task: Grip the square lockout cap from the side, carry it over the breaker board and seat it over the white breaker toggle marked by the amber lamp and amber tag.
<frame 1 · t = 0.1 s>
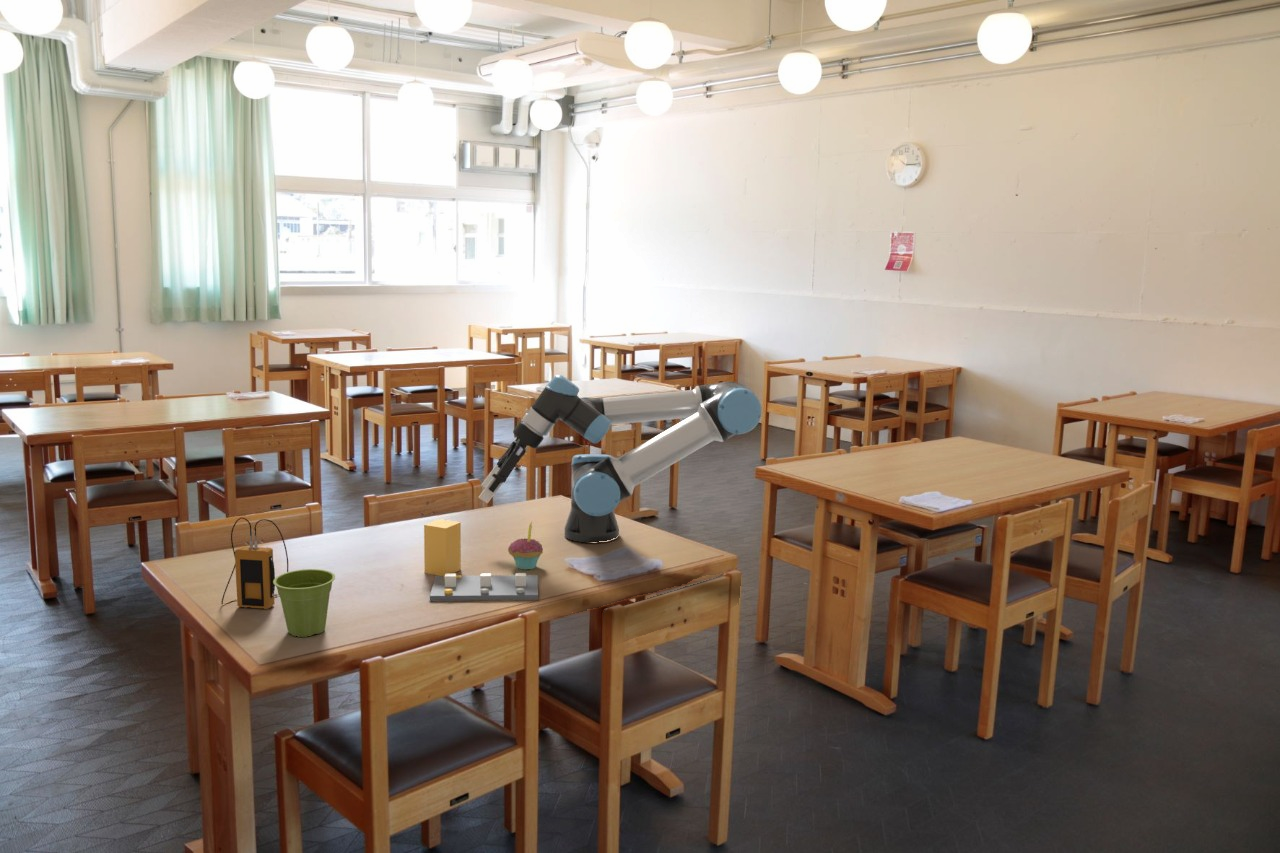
hand: (484, 494, 256), 15 cm above the table, tool tilted 35°, fingers open, 13 cm apart
breaker board: (485, 590, 229), on the table
cupcake: (525, 567, 246), on the table
lockout cap: (442, 571, 241), on the table
multimeter: (263, 602, 218), on the table
plant pot: (306, 632, 202), on the table
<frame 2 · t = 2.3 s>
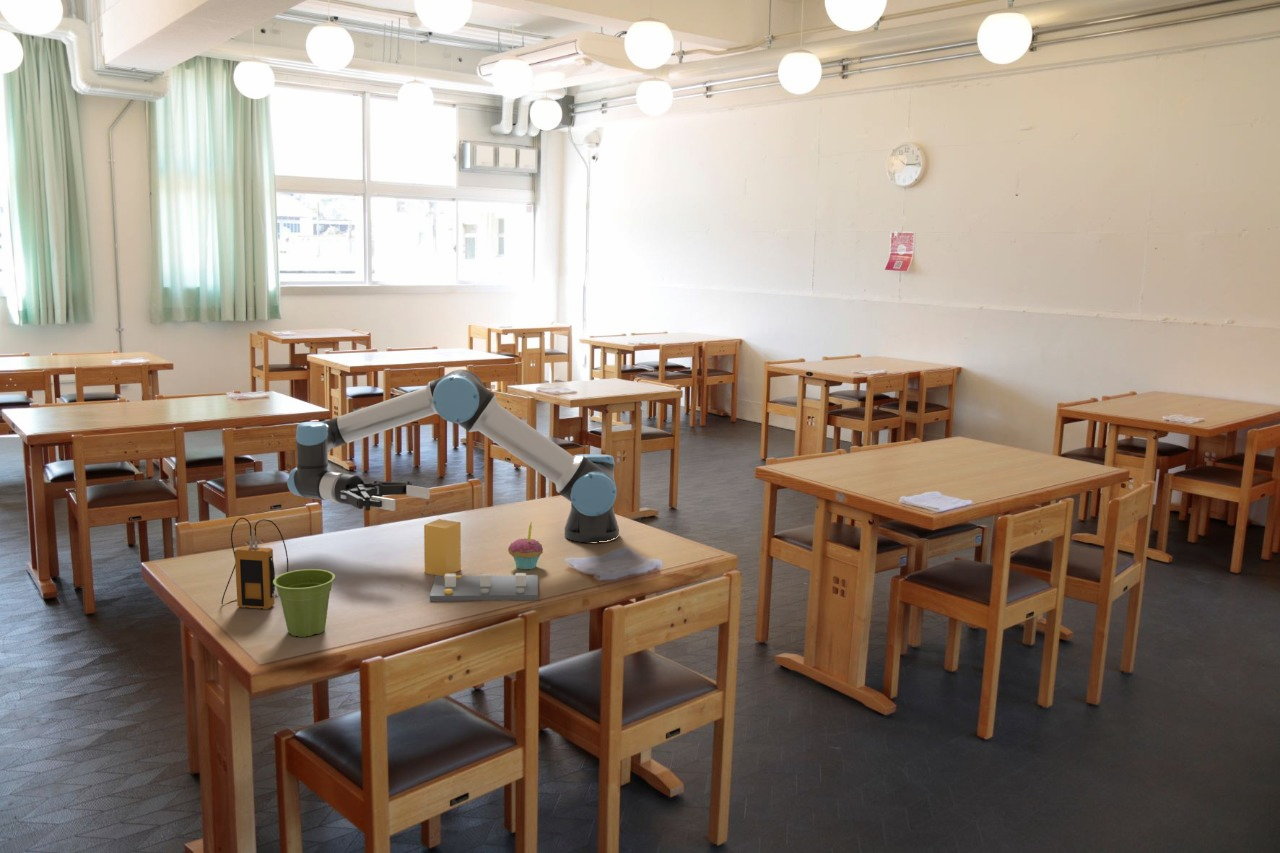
hand: (412, 499, 242), 17 cm above the table, tool horizontal, fingers open, 13 cm apart
nothing on the table moved.
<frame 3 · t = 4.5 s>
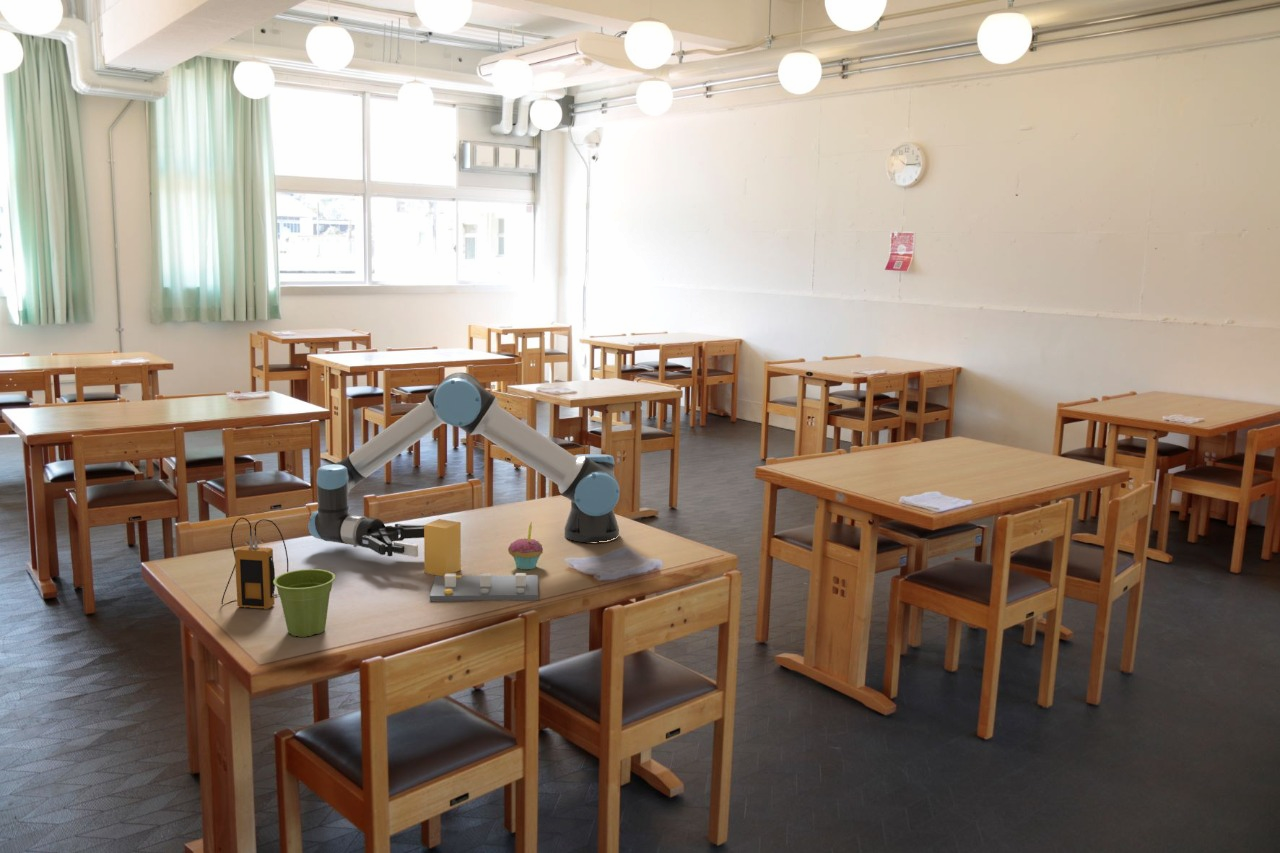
hand: (434, 543, 241), 7 cm above the table, tool horizontal, fingers open, 13 cm apart
nothing on the table moved.
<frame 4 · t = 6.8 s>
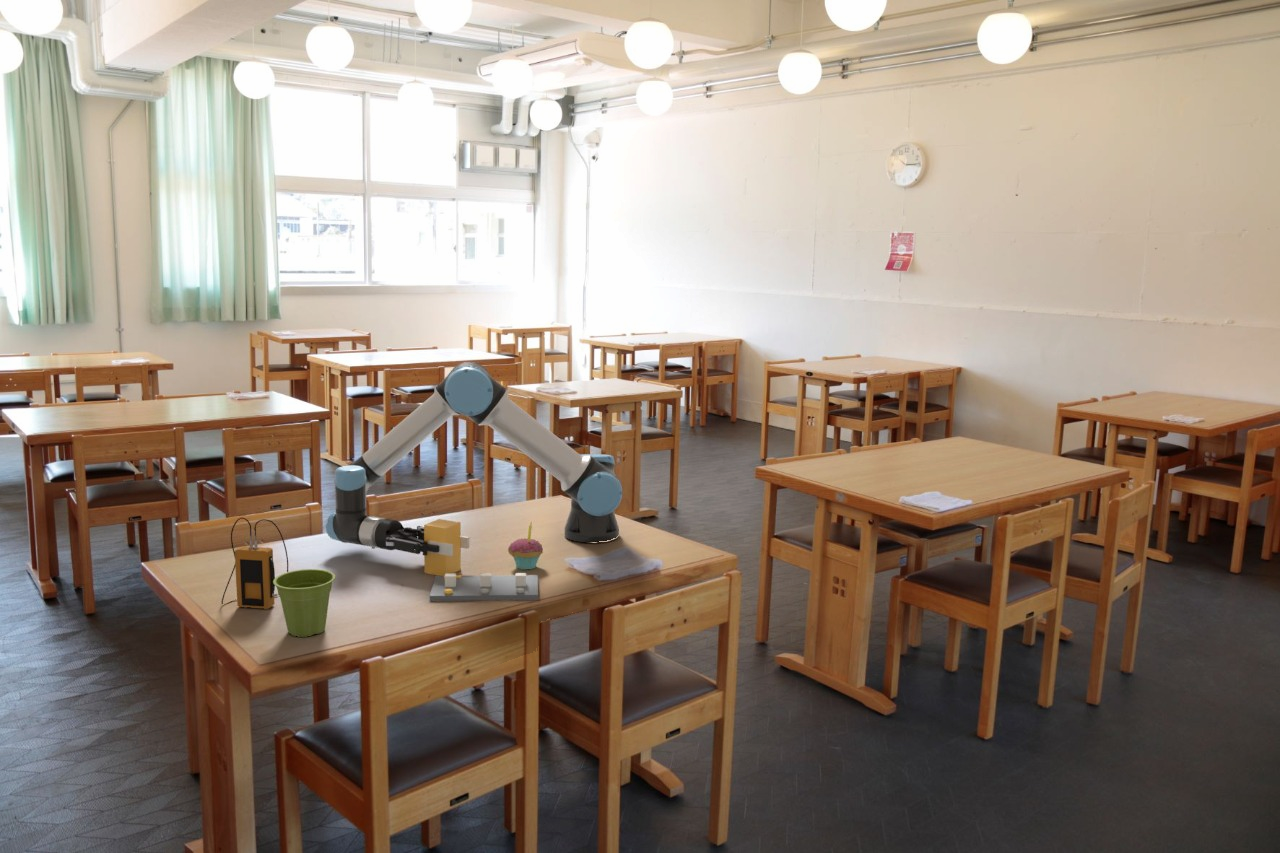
hand: (460, 546, 238), 7 cm above the table, tool horizontal, fingers closed on lockout cap, 6 cm apart
lockout cap: (442, 571, 241), on the table, touching gripper
everything else where it was.
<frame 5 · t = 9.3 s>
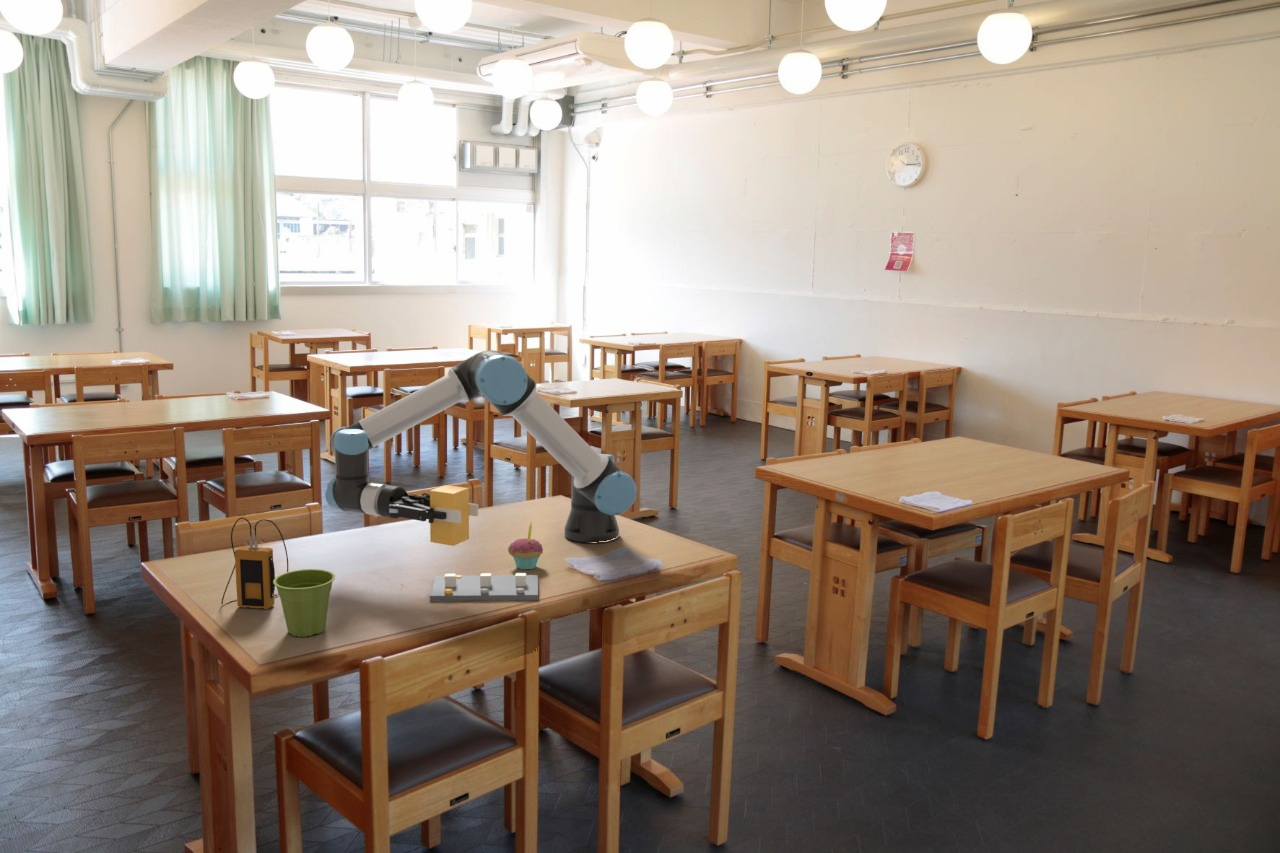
hand: (468, 513, 223), 19 cm above the table, tool horizontal, fingers closed on lockout cap, 6 cm apart
lockout cap: (449, 540, 226), point 12 cm above the table, touching gripper
everything else where it was.
when the fingers open (9 cm above the table, at t = 12.1 s): lockout cap drops 1 cm, resting on breaker board.
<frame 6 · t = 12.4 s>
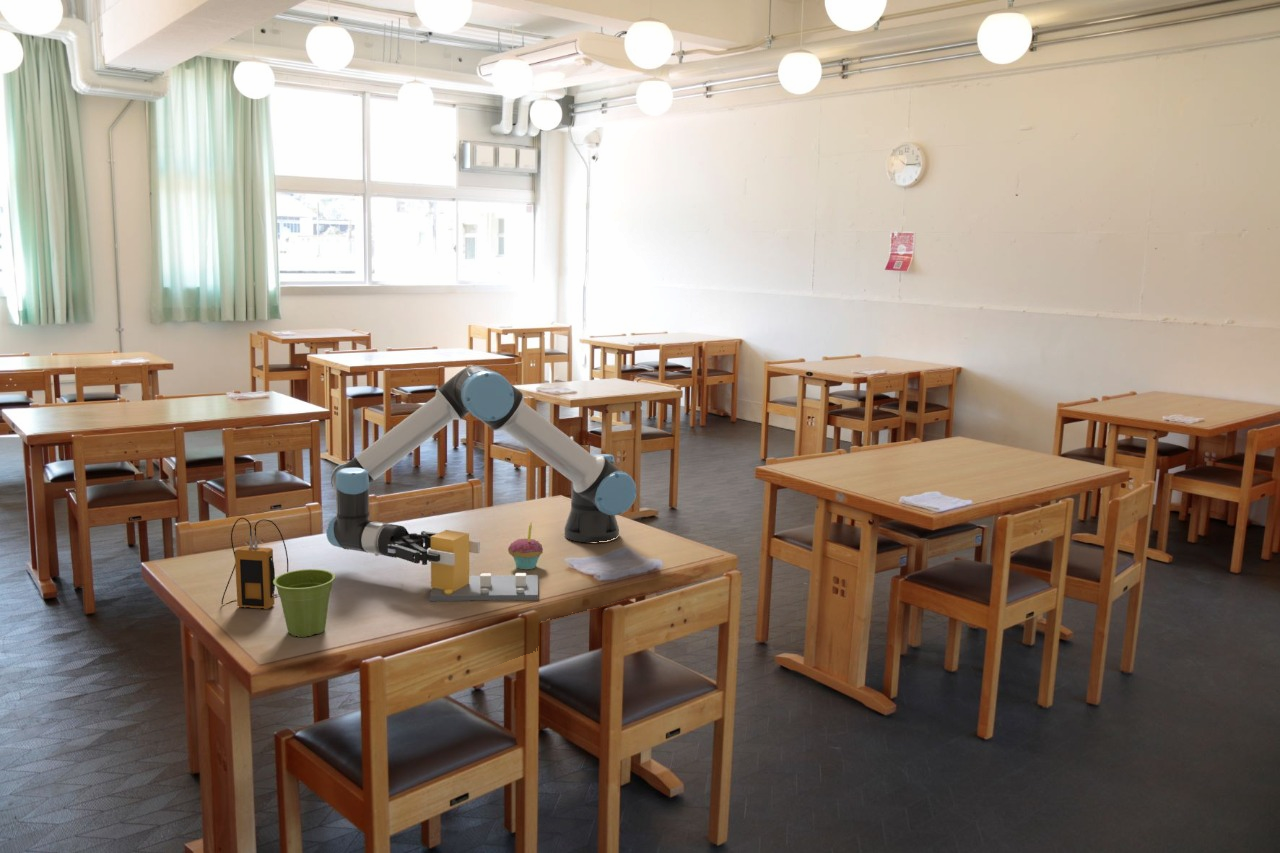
hand: (466, 553, 225), 9 cm above the table, tool horizontal, fingers open, 9 cm apart
lockout cap: (450, 585, 228), point 1 cm above the table, touching breaker board
everything else where it was.
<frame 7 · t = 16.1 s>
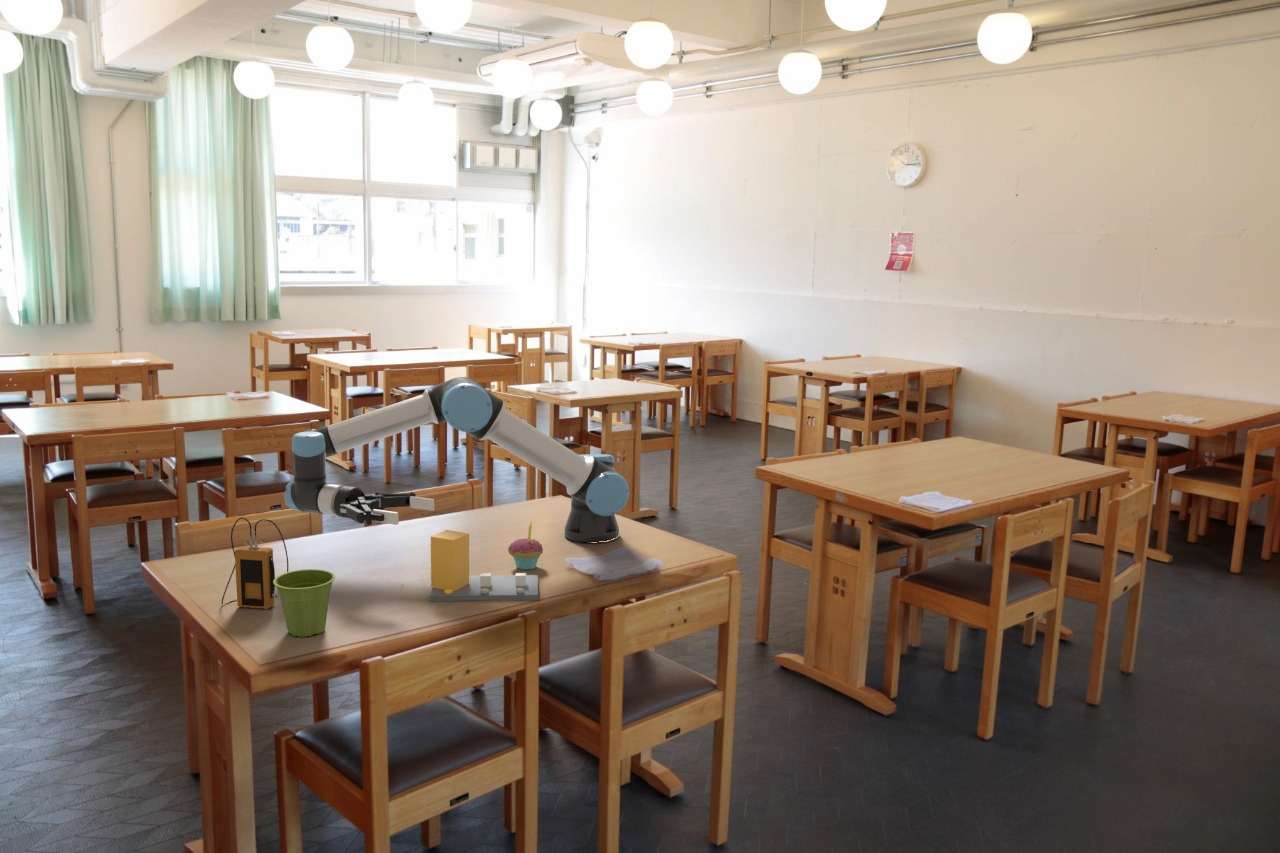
hand: (416, 511, 228), 18 cm above the table, tool horizontal, fingers open, 13 cm apart
nothing on the table moved.
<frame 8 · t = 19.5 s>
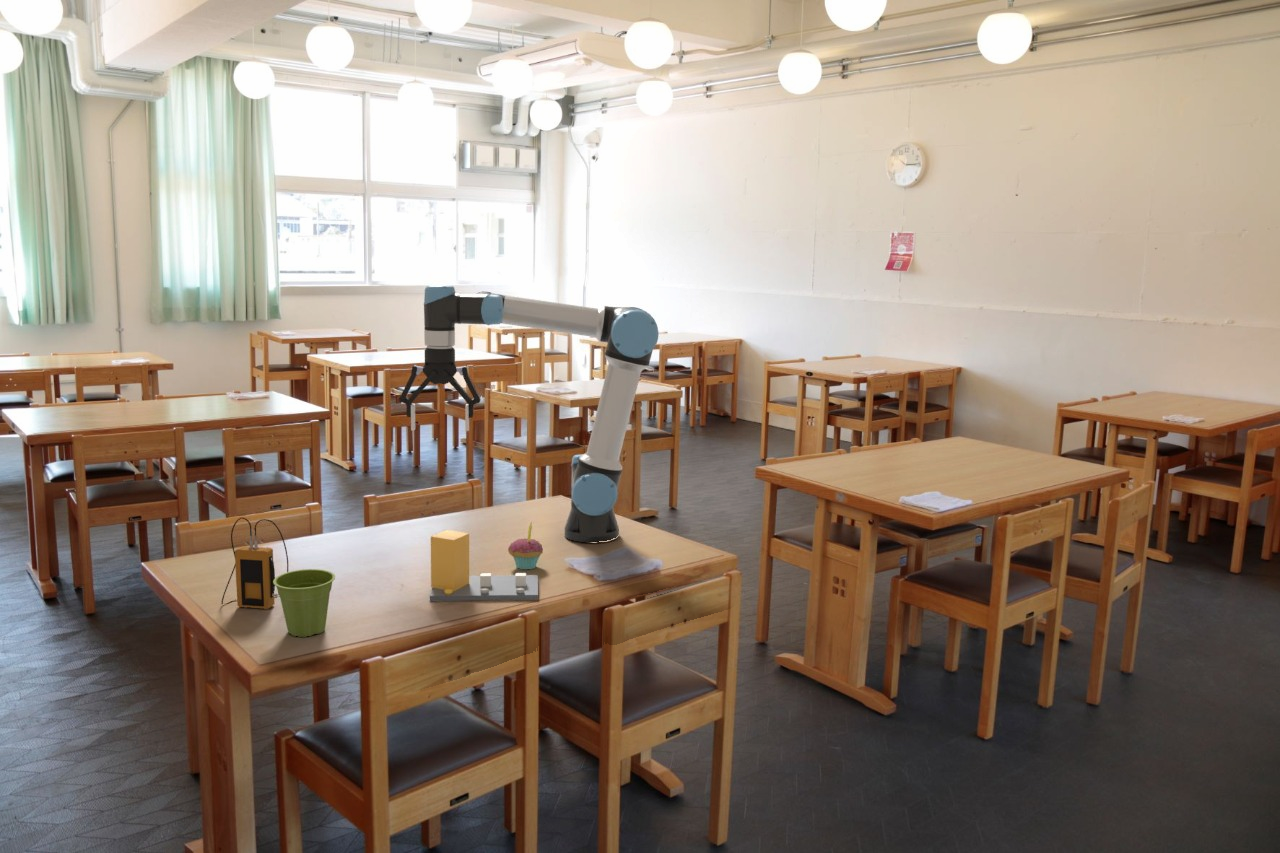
hand: (440, 430, 253), 32 cm above the table, tool pointing down, fingers open, 13 cm apart
nothing on the table moved.
at the end: lockout cap 0.0 cm from the target spot on the breaker board, point 1.2 cm above the breaker board's base; lockout cap tilted 0°; the gripper is holding nothing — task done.
